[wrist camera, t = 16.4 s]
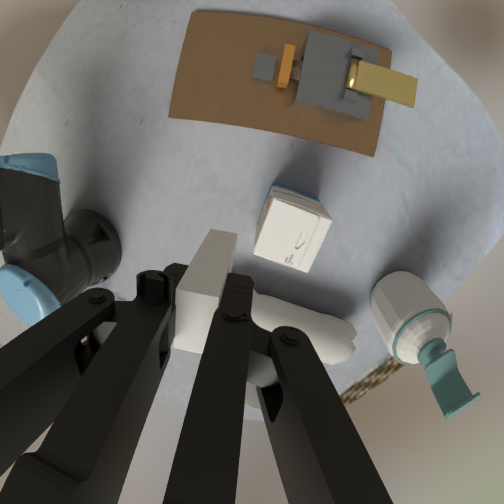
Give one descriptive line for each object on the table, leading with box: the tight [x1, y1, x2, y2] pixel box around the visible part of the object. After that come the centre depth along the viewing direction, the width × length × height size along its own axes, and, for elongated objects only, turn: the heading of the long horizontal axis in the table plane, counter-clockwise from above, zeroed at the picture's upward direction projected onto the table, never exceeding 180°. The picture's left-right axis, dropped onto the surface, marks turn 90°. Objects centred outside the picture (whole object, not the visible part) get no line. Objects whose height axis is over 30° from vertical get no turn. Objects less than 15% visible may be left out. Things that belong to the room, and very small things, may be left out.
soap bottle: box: [370, 271, 480, 420], centre depth 38 cm, size 12×12×31 cm
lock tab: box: [346, 58, 418, 108], centre depth 29 cm, size 9×4×1 cm, turn 80°
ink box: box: [253, 184, 332, 273], centre depth 43 cm, size 9×8×12 cm
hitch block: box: [168, 12, 392, 157], centre depth 34 cm, size 34×20×11 cm, turn 80°
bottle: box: [251, 289, 357, 365], centre depth 51 cm, size 9×9×30 cm
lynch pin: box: [277, 44, 302, 88], centre depth 34 cm, size 13×6×4 cm, turn 80°
